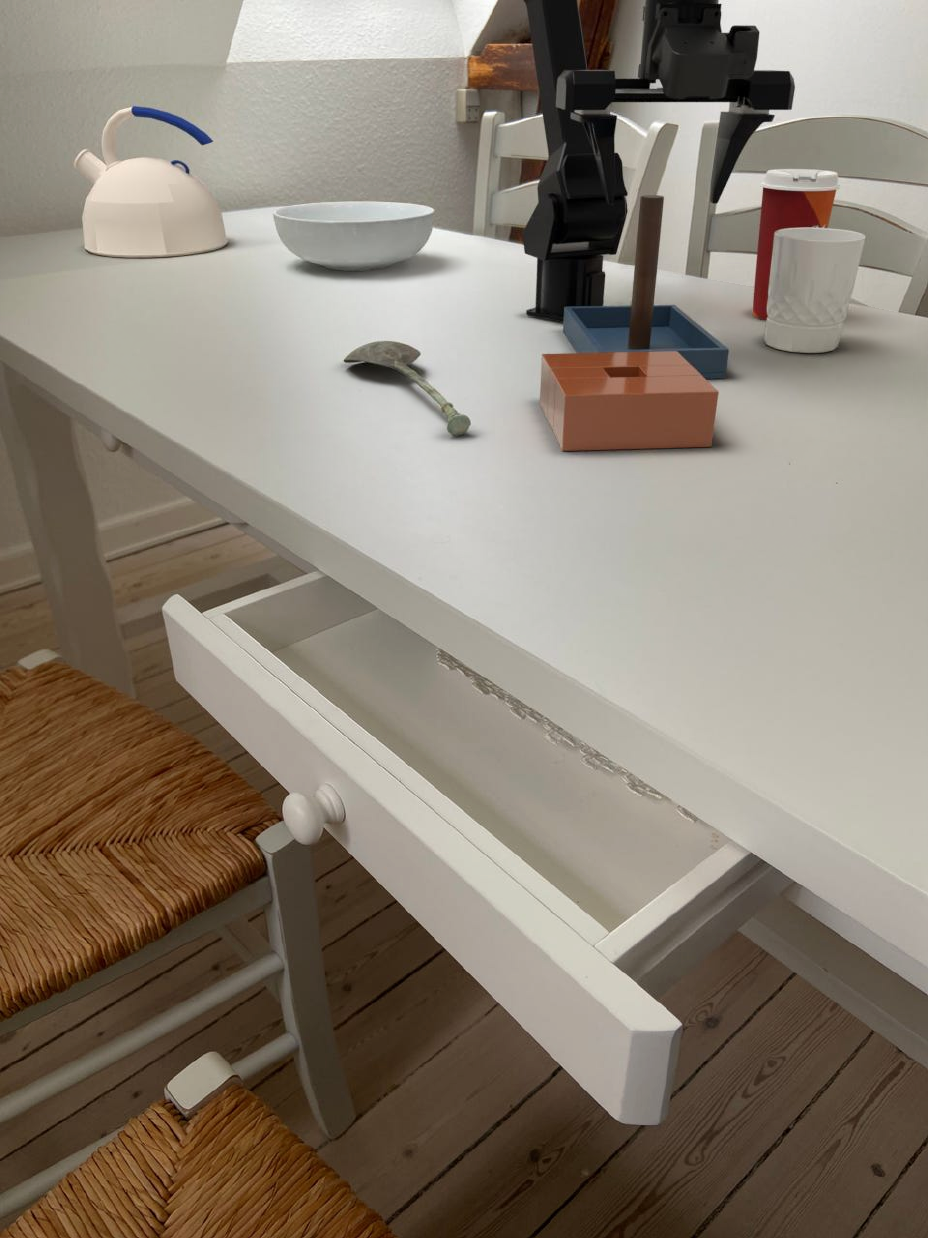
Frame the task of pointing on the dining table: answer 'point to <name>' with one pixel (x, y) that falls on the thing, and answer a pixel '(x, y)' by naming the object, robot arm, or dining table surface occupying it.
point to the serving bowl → (354, 232)
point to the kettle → (147, 199)
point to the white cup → (810, 287)
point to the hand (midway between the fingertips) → (662, 203)
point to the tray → (668, 333)
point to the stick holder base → (626, 401)
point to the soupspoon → (398, 359)
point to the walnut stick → (645, 271)
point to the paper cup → (789, 216)
